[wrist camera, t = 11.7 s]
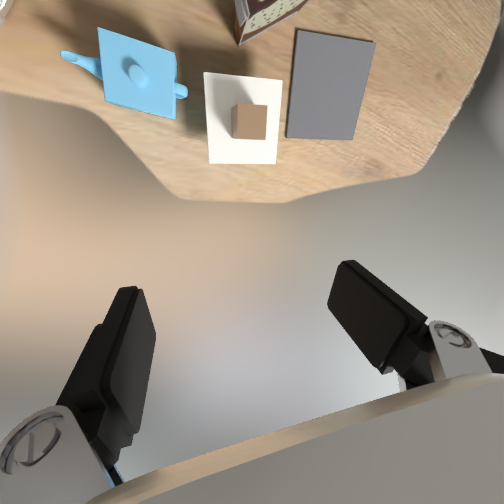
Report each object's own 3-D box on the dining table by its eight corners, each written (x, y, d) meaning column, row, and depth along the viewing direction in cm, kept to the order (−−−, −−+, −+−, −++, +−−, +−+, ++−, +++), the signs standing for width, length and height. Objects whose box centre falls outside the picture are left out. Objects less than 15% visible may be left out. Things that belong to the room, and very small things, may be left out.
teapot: (92, 99, 27) (61, 89, 21) (84, 38, 24) (46, 5, 18) (187, 122, 31) (185, 120, 24) (189, 71, 28) (188, 53, 22)
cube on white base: (203, 73, 25) (205, 60, 20) (280, 81, 27) (297, 71, 23) (209, 162, 30) (211, 168, 25) (273, 163, 32) (286, 168, 28)
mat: (285, 137, 35) (286, 137, 35) (296, 31, 28) (298, 30, 28) (350, 140, 38) (352, 140, 38) (373, 44, 31) (376, 43, 31)
